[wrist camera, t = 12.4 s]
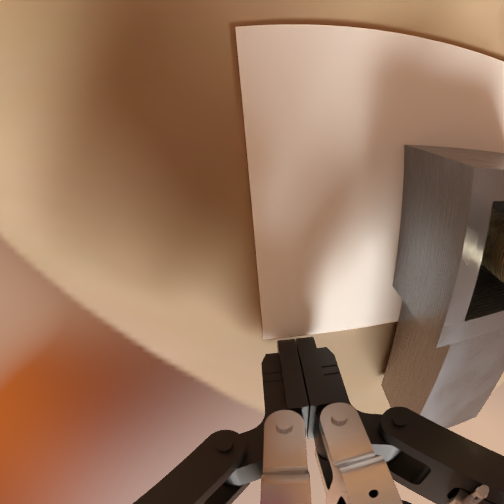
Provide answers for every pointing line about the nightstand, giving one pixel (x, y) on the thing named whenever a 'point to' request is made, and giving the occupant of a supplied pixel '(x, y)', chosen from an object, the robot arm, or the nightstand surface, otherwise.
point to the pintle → (495, 245)
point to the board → (347, 159)
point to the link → (447, 285)
